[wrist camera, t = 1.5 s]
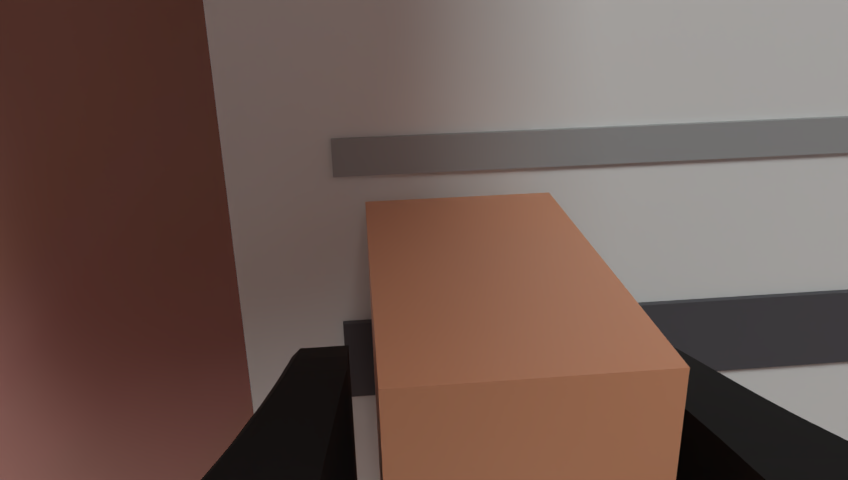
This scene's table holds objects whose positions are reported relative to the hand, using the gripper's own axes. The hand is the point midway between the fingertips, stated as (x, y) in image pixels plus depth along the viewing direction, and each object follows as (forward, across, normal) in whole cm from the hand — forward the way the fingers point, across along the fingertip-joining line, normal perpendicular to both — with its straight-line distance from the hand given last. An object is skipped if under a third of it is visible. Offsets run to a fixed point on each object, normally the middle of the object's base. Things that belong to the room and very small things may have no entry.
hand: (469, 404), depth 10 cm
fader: (+1, 0, 0) cm, 1 cm away
